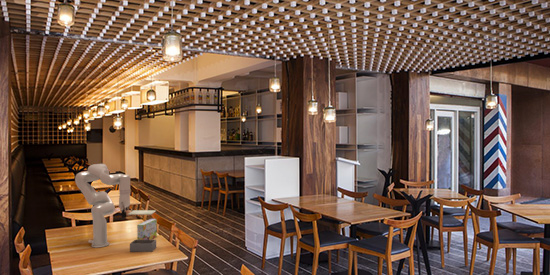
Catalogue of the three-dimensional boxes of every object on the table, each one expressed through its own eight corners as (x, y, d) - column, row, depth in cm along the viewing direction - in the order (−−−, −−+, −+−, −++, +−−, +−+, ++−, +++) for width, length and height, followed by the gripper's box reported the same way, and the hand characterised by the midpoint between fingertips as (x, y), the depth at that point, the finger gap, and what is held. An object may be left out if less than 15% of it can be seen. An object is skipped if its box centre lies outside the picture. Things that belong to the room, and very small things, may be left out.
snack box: (143, 244, 304) (143, 224, 304) (137, 244, 305) (136, 224, 305) (157, 236, 325) (156, 218, 324) (151, 236, 326) (150, 218, 326)
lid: (119, 216, 284) (119, 212, 284) (125, 213, 295) (125, 209, 295) (151, 216, 284) (151, 212, 284) (155, 213, 295) (155, 209, 295)
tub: (129, 252, 285) (129, 243, 285) (134, 247, 295) (134, 239, 295) (152, 251, 285) (152, 243, 285) (156, 247, 295) (156, 239, 295)
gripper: (123, 189, 297) (124, 214, 298) (115, 193, 281) (115, 219, 281) (133, 189, 297) (134, 214, 298) (125, 193, 281) (125, 219, 281)
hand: (125, 216), depth 290 cm, fingers closed on lid, 3 cm apart
